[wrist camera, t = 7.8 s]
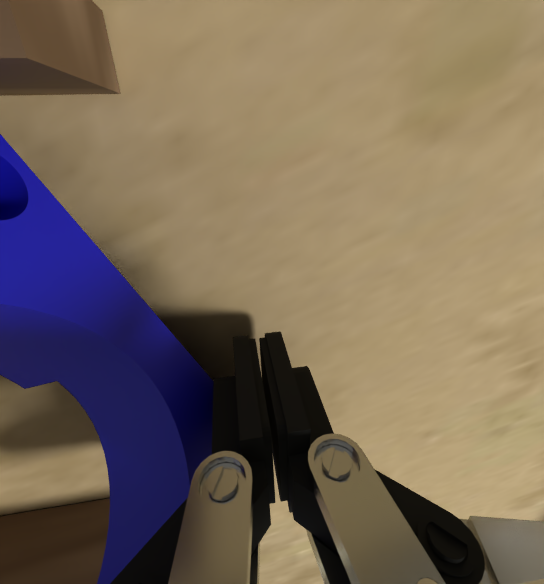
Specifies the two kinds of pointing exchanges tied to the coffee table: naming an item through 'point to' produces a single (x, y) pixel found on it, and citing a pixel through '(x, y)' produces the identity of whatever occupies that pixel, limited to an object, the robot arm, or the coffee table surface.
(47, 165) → the coffee table surface
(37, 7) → the dock bay
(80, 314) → the cable clip
